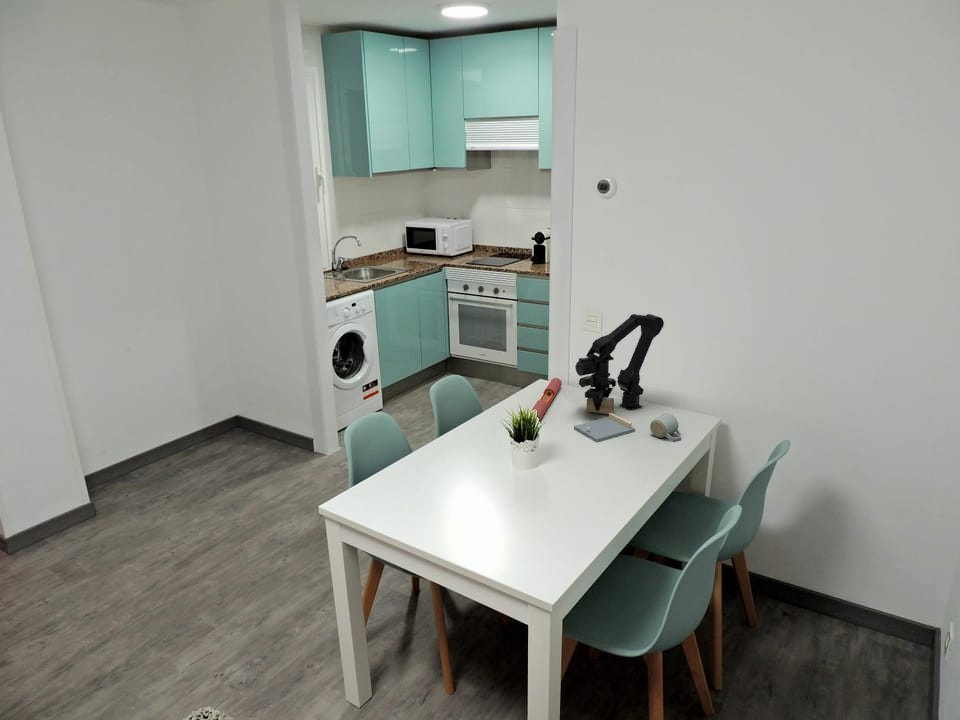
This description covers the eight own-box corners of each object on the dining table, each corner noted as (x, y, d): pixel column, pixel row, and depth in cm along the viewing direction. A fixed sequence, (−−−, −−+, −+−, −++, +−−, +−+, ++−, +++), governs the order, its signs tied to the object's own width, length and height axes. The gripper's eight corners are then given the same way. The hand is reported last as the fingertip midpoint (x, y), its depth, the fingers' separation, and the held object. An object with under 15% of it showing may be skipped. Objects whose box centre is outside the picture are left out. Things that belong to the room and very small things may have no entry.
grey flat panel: (611, 418, 259) (611, 411, 258) (635, 431, 247) (635, 423, 246) (573, 428, 251) (574, 421, 250) (596, 442, 239) (596, 434, 238)
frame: (589, 406, 269) (589, 394, 267) (613, 409, 265) (614, 397, 263) (586, 411, 264) (586, 399, 263) (611, 414, 261) (611, 402, 259)
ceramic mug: (647, 435, 244) (649, 416, 241) (660, 428, 249) (662, 410, 246) (672, 444, 236) (674, 424, 234) (685, 437, 241) (687, 418, 239)
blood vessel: (550, 387, 295) (550, 377, 294) (561, 388, 294) (562, 378, 292) (527, 424, 258) (527, 412, 256) (539, 425, 256) (539, 413, 255)
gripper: (591, 362, 271) (590, 397, 276) (572, 375, 256) (572, 412, 261) (617, 365, 265) (615, 401, 270) (599, 379, 250) (598, 417, 255)
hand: (600, 408), depth 264 cm, fingers closed on frame, 5 cm apart
